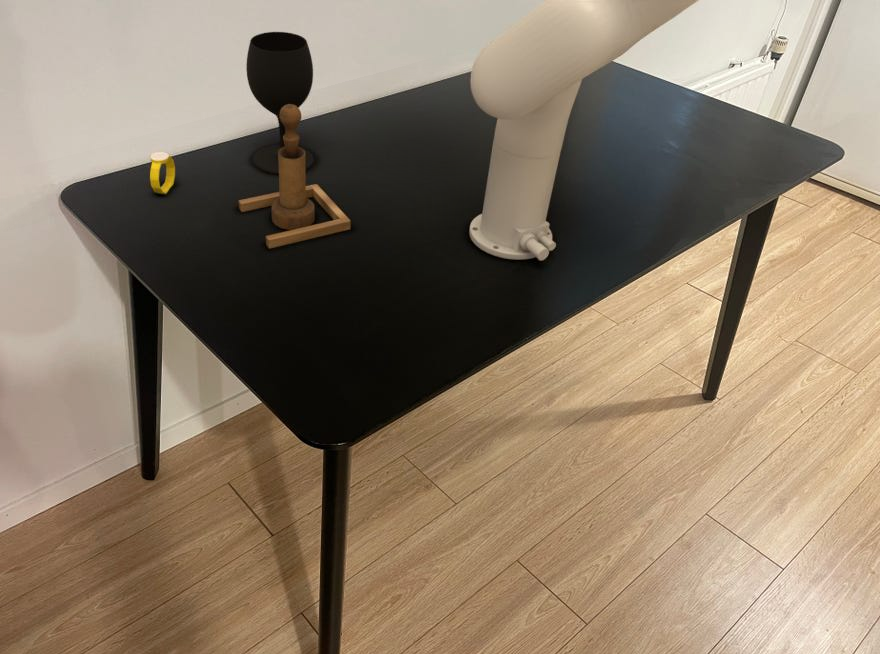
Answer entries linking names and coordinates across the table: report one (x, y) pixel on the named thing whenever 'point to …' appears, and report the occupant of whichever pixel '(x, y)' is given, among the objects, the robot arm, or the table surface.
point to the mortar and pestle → (292, 177)
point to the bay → (304, 233)
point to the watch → (156, 161)
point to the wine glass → (279, 84)
